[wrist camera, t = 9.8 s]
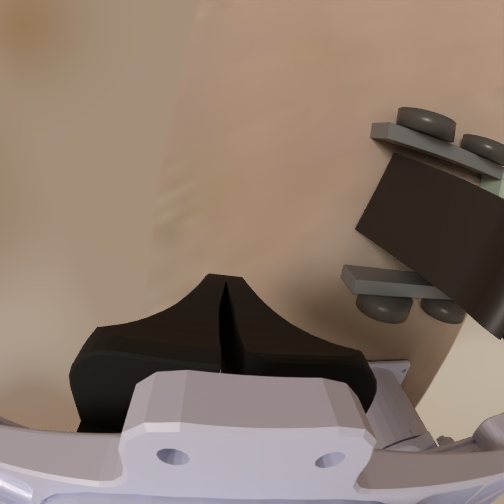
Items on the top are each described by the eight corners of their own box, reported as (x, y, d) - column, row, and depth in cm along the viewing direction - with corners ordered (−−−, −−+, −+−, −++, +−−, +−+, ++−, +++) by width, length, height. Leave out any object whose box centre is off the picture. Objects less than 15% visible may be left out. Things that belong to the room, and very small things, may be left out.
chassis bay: (453, 301, 24) (478, 323, 20) (336, 293, 23) (354, 322, 19) (493, 151, 20) (526, 157, 16) (375, 105, 18) (404, 100, 15)
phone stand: (469, 211, 21) (580, 267, 10) (435, 274, 23) (530, 357, 12) (392, 151, 19) (527, 180, 8) (352, 227, 21) (457, 317, 10)
